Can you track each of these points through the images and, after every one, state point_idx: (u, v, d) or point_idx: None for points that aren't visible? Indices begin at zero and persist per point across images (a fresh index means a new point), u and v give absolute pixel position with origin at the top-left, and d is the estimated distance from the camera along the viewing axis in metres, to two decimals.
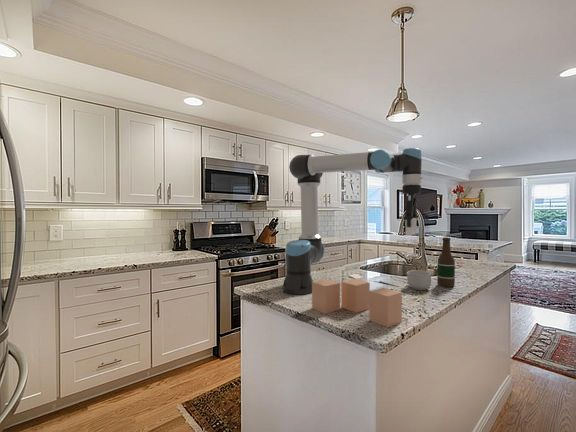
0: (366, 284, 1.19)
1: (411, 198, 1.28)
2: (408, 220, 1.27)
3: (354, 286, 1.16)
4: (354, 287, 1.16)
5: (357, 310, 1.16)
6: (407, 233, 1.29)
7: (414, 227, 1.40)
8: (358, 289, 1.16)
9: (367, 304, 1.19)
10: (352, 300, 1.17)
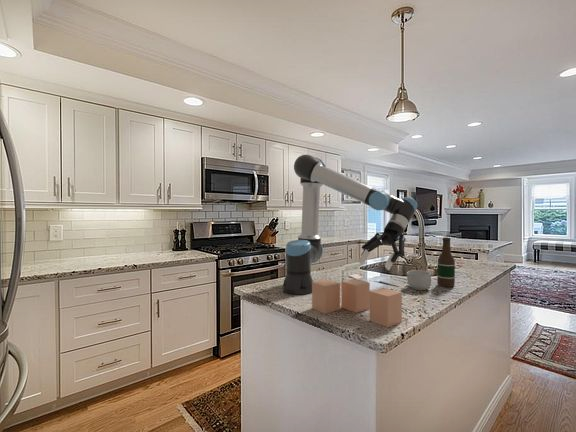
0: (366, 284, 1.19)
1: (404, 240, 1.27)
2: (396, 256, 1.22)
3: (354, 286, 1.16)
4: (354, 287, 1.16)
5: (357, 310, 1.16)
6: (387, 266, 1.20)
7: (364, 260, 1.33)
8: (358, 289, 1.16)
9: (367, 304, 1.19)
10: (352, 300, 1.17)
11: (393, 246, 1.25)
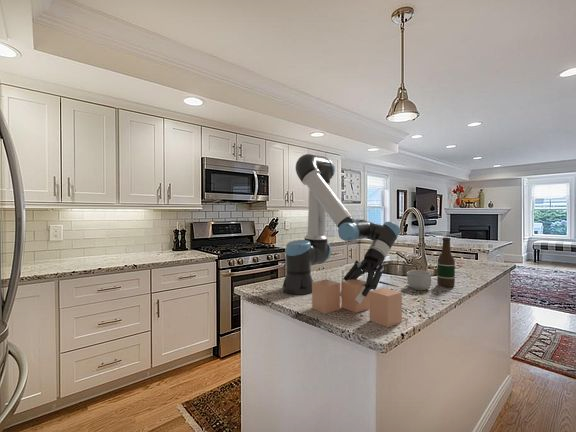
0: None
1: (382, 271, 1.20)
2: (368, 289, 1.17)
3: (354, 286, 1.16)
4: (354, 287, 1.16)
5: (357, 310, 1.16)
6: (358, 300, 1.15)
7: None
8: (358, 289, 1.16)
9: (367, 304, 1.19)
10: (352, 300, 1.17)
11: (368, 277, 1.19)
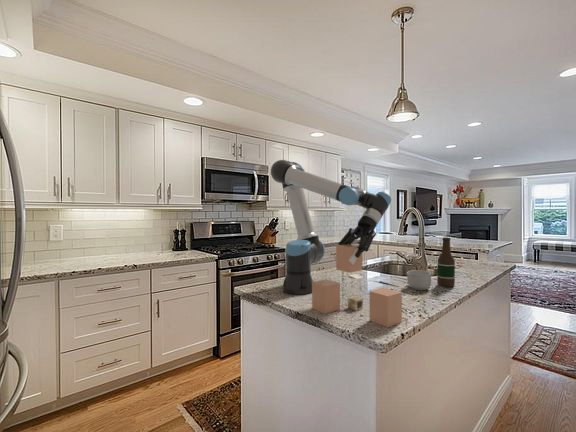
0: None
1: (374, 235, 1.29)
2: (360, 251, 1.26)
3: (348, 248, 1.25)
4: (348, 249, 1.25)
5: (350, 270, 1.25)
6: (351, 260, 1.24)
7: None
8: (351, 251, 1.25)
9: (360, 265, 1.28)
10: (346, 261, 1.26)
11: (360, 241, 1.28)
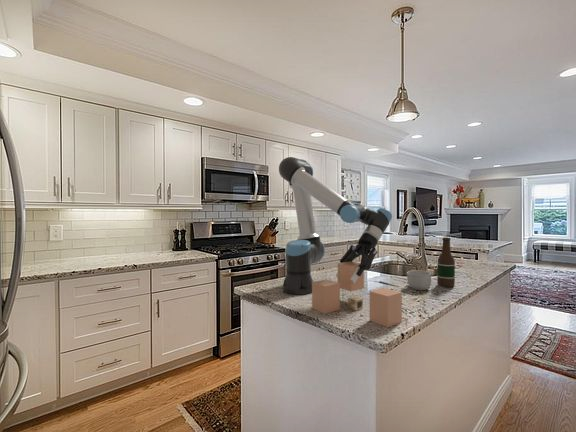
0: None
1: (375, 253, 1.29)
2: (362, 269, 1.26)
3: (349, 267, 1.25)
4: (349, 268, 1.25)
5: (352, 289, 1.25)
6: (353, 279, 1.24)
7: None
8: (353, 269, 1.25)
9: (361, 283, 1.28)
10: (348, 280, 1.26)
11: (362, 259, 1.28)
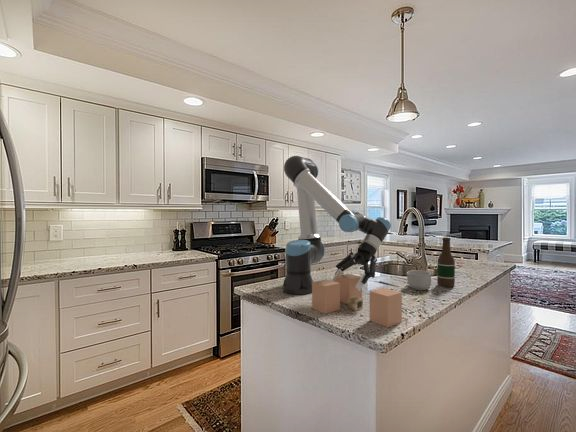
0: (359, 278, 1.28)
1: (376, 261, 1.30)
2: (367, 277, 1.24)
3: (347, 280, 1.26)
4: (347, 281, 1.26)
5: None
6: (358, 287, 1.23)
7: None
8: (351, 283, 1.26)
9: (359, 297, 1.29)
10: (346, 293, 1.26)
11: (365, 267, 1.28)
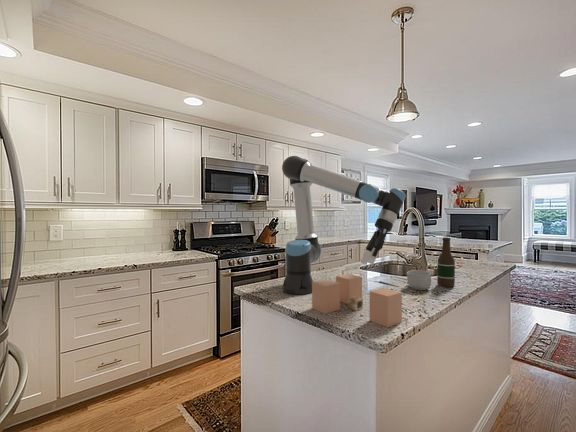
0: (359, 278, 1.28)
1: (386, 232, 1.33)
2: (376, 250, 1.31)
3: (347, 280, 1.26)
4: (347, 281, 1.26)
5: None
6: (369, 261, 1.31)
7: (366, 259, 1.45)
8: (351, 283, 1.26)
9: (359, 297, 1.29)
10: (346, 293, 1.26)
11: (375, 241, 1.34)
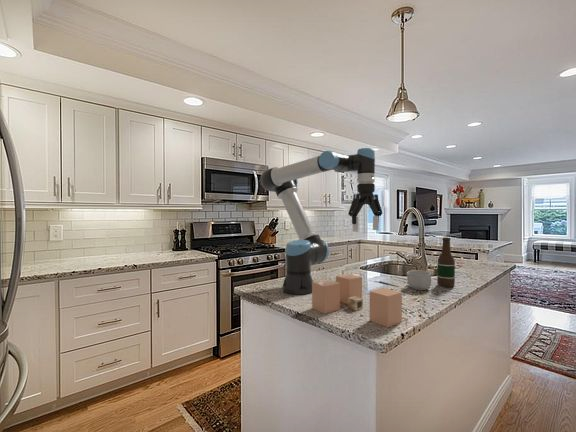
0: (359, 278, 1.28)
1: (356, 196, 1.34)
2: (352, 217, 1.34)
3: (347, 280, 1.26)
4: (347, 281, 1.26)
5: None
6: (353, 230, 1.36)
7: (376, 225, 1.42)
8: (351, 283, 1.26)
9: (359, 297, 1.29)
10: (346, 293, 1.26)
11: None
